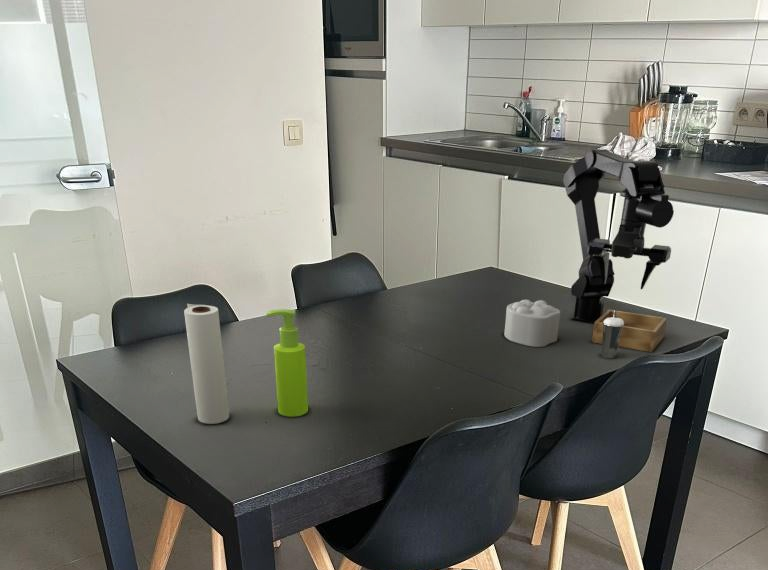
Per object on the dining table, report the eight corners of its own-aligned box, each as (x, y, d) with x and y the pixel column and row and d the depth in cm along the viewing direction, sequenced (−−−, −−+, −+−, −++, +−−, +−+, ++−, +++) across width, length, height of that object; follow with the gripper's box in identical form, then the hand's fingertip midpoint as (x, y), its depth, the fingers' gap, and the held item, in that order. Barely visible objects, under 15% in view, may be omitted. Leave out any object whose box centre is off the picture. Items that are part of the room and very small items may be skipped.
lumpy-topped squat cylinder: (538, 348, 185) (542, 313, 181) (494, 336, 193) (497, 302, 189) (561, 338, 192) (566, 304, 187) (518, 327, 199) (522, 293, 195)
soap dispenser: (273, 405, 155) (266, 306, 144) (308, 404, 155) (303, 305, 145) (272, 417, 150) (265, 315, 139) (308, 416, 150) (303, 314, 140)
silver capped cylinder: (619, 353, 183) (626, 311, 178) (617, 360, 179) (624, 317, 174) (599, 350, 184) (606, 309, 179) (597, 358, 180) (603, 315, 175)
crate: (591, 342, 190) (594, 322, 187) (605, 328, 199) (608, 309, 197) (651, 352, 184) (655, 331, 181) (663, 337, 193) (667, 318, 191)
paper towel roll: (228, 424, 147) (216, 313, 136) (195, 425, 146) (181, 314, 135) (231, 409, 153) (220, 301, 142) (200, 410, 152) (187, 302, 141)
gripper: (584, 221, 179) (575, 288, 187) (667, 229, 171) (654, 299, 179) (598, 213, 187) (589, 278, 195) (677, 221, 180) (664, 288, 188)
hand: (622, 286), depth 189 cm, fingers open, 9 cm apart
